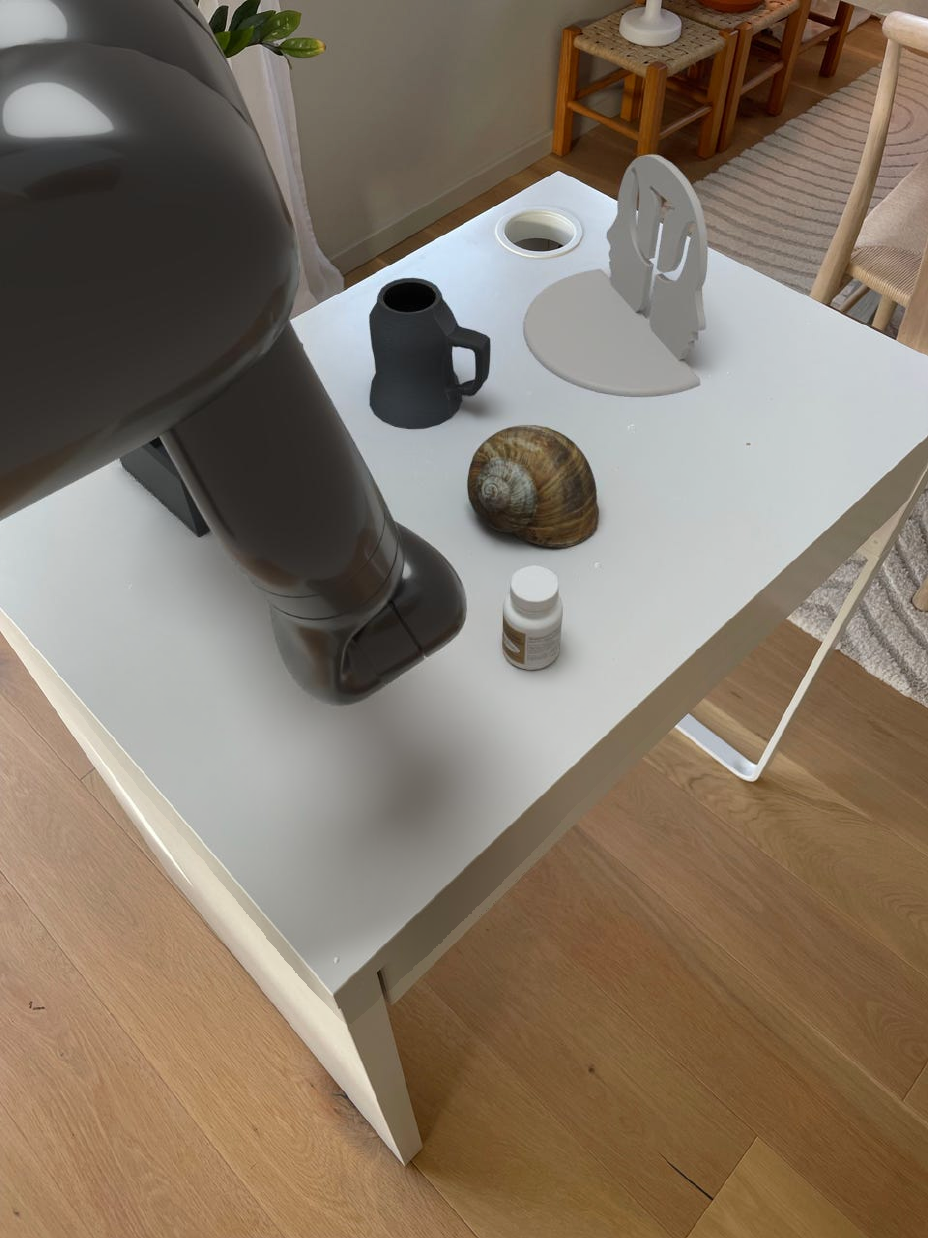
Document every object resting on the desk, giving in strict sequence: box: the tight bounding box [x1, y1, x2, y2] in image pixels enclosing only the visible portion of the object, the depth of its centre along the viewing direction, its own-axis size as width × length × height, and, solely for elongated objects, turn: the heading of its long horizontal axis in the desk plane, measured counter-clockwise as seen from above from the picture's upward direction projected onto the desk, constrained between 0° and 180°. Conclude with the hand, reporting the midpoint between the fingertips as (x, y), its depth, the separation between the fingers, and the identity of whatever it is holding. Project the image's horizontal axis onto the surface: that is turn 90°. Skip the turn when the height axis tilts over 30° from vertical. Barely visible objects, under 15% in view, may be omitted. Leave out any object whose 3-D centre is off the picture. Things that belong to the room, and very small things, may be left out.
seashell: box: [466, 424, 600, 548], centre depth 79 cm, size 11×9×8 cm
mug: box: [368, 277, 492, 430], centre depth 88 cm, size 12×9×11 cm
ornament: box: [522, 153, 709, 398], centre depth 92 cm, size 22×13×17 cm, turn 22°
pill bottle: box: [501, 565, 564, 671], centre depth 71 cm, size 4×4×8 cm
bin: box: [118, 437, 211, 538], centre depth 84 cm, size 12×12×7 cm
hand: (169, 320), depth 71 cm, fingers closed on supplement bottle, 4 cm apart
